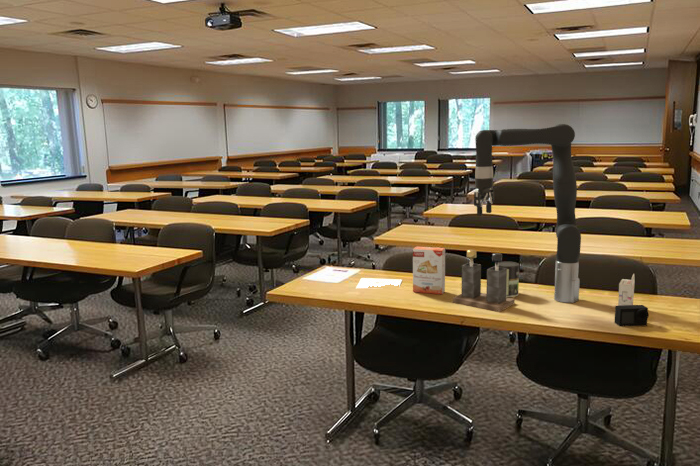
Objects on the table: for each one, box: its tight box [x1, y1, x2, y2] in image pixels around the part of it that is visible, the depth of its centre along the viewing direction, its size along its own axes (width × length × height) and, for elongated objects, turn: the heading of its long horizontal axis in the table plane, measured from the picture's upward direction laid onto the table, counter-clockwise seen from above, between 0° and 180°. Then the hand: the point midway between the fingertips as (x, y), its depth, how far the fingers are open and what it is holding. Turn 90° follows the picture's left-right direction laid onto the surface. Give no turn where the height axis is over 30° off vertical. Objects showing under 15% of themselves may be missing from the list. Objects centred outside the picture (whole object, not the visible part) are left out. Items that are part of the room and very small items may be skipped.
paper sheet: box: [355, 277, 403, 289], centre depth 273 cm, size 24×29×1 cm
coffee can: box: [499, 260, 520, 298], centre depth 254 cm, size 10×10×14 cm
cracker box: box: [412, 245, 446, 295], centre depth 260 cm, size 14×6×21 cm, turn 68°
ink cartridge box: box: [617, 273, 636, 306], centre depth 229 cm, size 9×5×15 cm, turn 148°
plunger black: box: [491, 252, 503, 271], centre depth 238 cm, size 4×4×18 cm
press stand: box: [452, 262, 515, 313], centre depth 242 cm, size 22×14×16 cm, turn 49°
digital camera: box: [614, 304, 650, 327], centre depth 212 cm, size 10×5×7 cm, turn 91°
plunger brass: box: [466, 249, 477, 267], centre depth 245 cm, size 4×4×18 cm
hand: (484, 214), depth 246 cm, fingers open, 8 cm apart
